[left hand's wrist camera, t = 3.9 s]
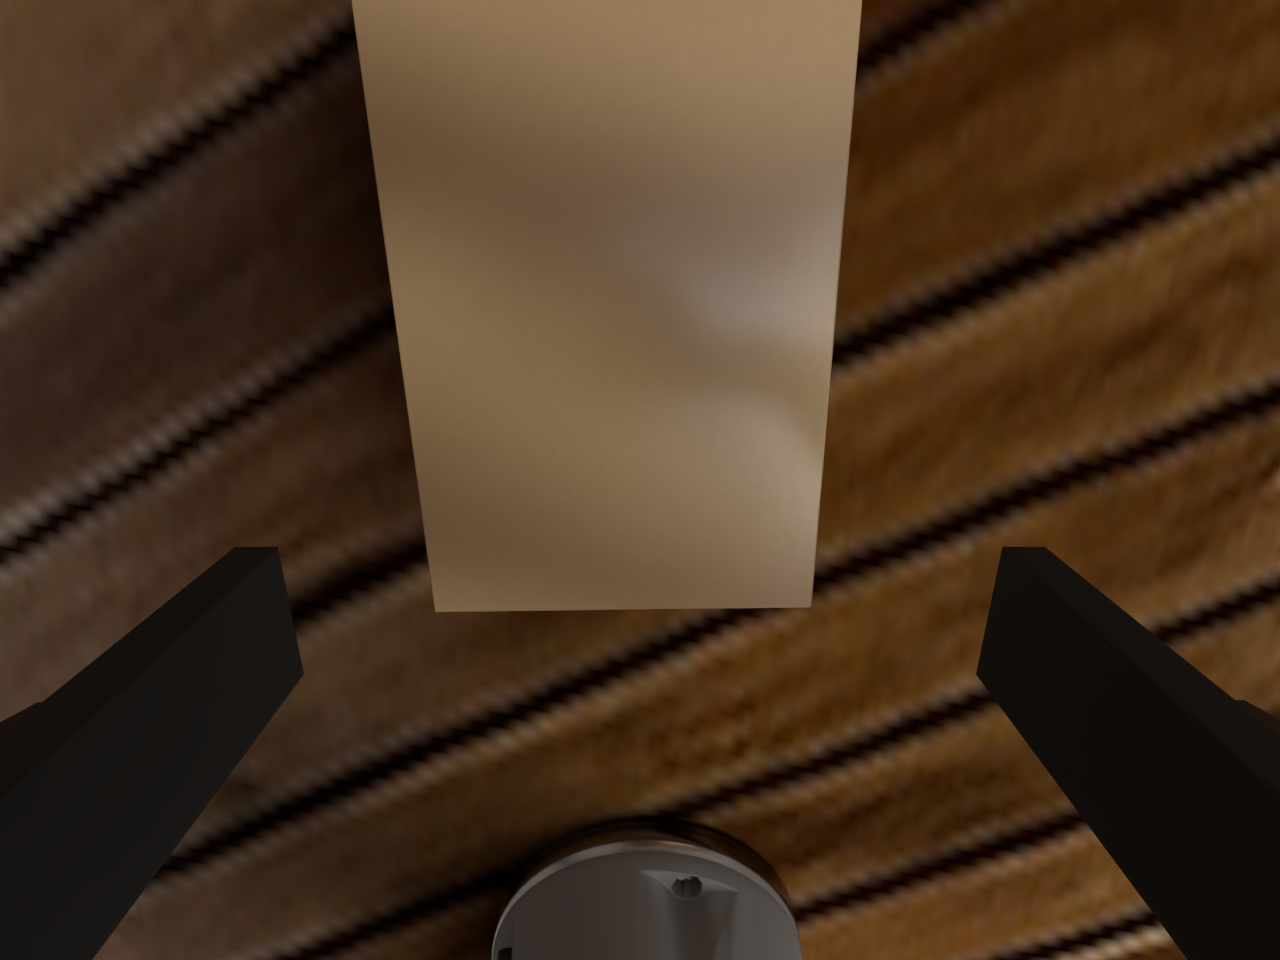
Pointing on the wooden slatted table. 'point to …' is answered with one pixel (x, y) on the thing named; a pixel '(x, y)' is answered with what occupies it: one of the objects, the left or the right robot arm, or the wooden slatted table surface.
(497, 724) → the wooden slatted table surface
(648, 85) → the cabinet
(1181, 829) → the left robot arm
